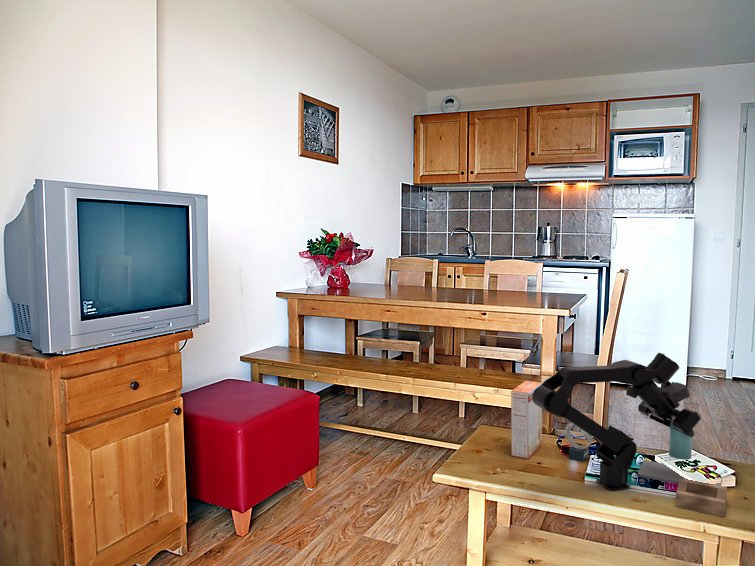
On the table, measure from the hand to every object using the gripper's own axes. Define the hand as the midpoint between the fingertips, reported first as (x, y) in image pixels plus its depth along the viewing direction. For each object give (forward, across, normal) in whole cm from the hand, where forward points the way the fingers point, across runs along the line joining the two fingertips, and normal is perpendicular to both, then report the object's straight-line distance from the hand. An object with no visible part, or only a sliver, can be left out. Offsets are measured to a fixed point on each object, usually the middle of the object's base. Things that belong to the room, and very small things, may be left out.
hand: (685, 432), depth 166 cm
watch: (-5, +20, +24) cm, 31 cm away
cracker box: (-14, +29, +33) cm, 46 cm away
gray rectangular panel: (+8, 0, +10) cm, 13 cm away
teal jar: (+4, 0, +6) cm, 7 cm away
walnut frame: (+4, -15, +14) cm, 21 cm away
